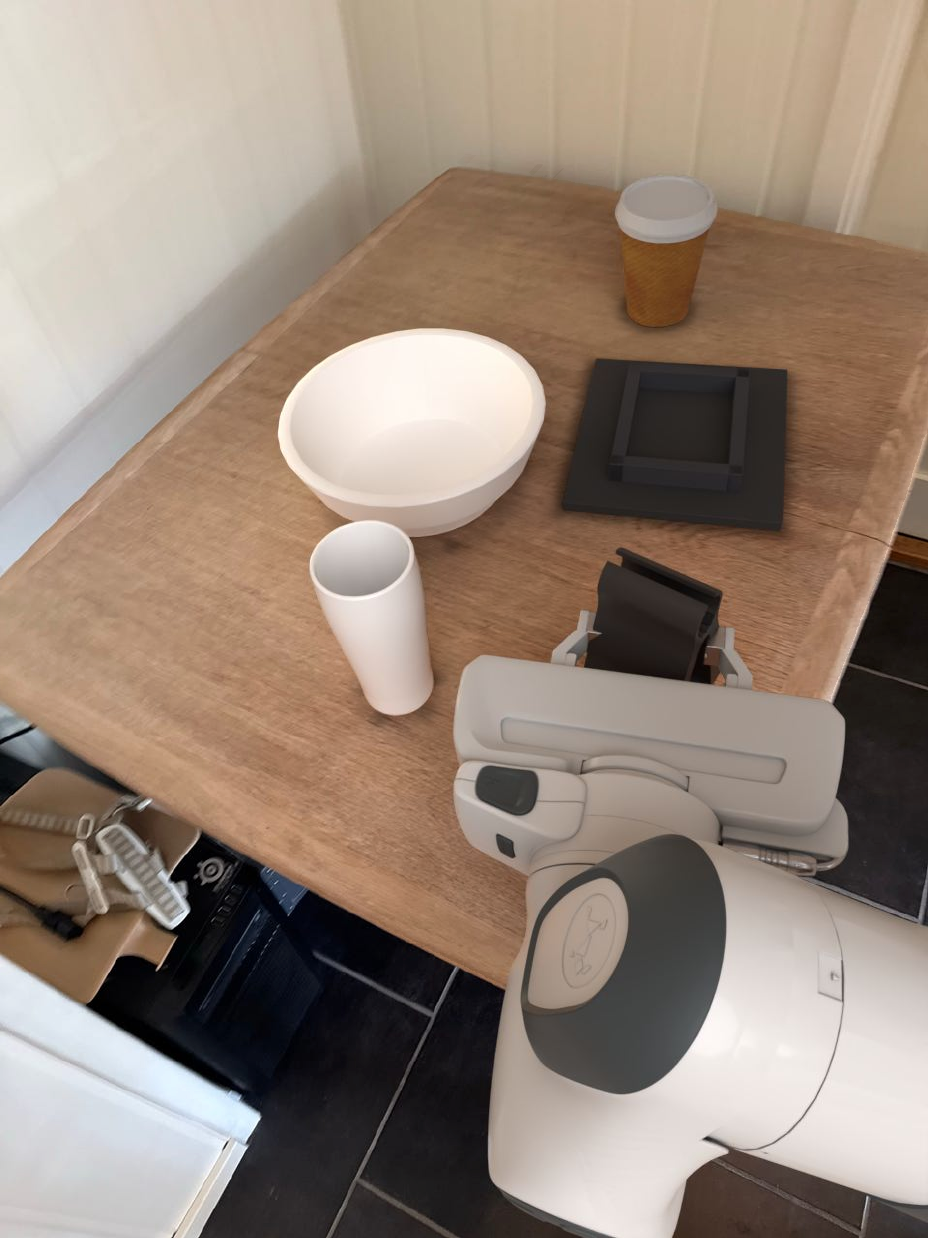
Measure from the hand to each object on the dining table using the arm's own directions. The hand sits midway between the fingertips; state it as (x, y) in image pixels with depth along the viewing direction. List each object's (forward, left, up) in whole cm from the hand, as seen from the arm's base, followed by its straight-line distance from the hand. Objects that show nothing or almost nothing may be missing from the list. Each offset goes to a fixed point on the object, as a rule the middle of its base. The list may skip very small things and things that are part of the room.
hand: (655, 624), depth 51 cm
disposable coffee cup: (+4, -51, -13) cm, 53 cm away
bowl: (+22, -23, -13) cm, 35 cm away
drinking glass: (+18, -1, -13) cm, 23 cm away
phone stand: (0, +1, -7) cm, 7 cm away
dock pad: (0, -31, -13) cm, 34 cm away
